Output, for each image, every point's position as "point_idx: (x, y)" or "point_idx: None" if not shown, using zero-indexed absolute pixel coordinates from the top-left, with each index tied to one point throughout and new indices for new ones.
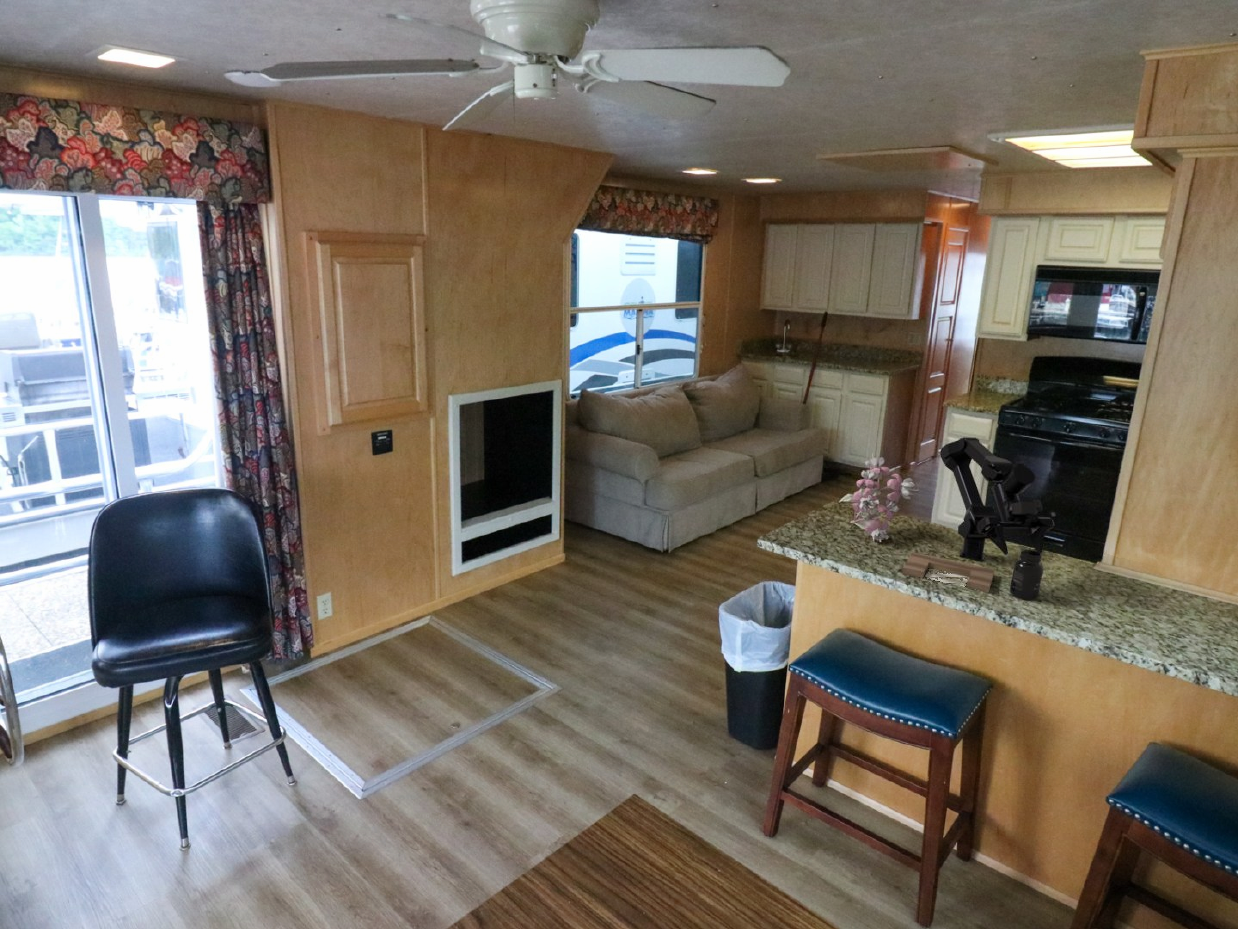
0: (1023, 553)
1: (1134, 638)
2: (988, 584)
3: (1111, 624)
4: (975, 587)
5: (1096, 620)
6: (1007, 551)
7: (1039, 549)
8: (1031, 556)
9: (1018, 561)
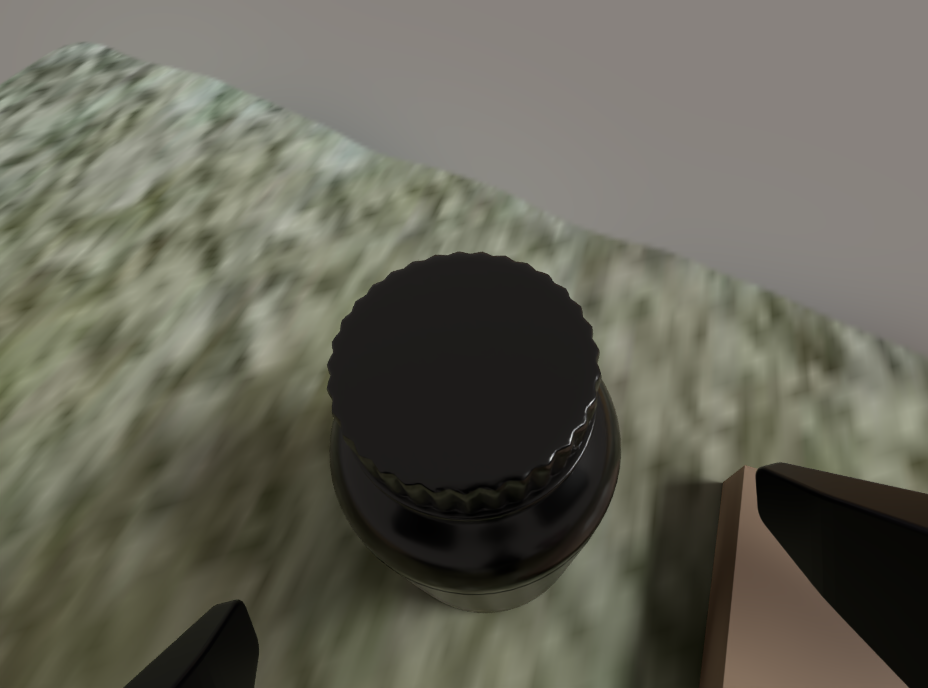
0: (582, 317)
1: (161, 172)
2: (756, 496)
3: (163, 260)
4: None
5: (209, 281)
6: (782, 473)
7: (213, 653)
8: (496, 261)
9: (596, 414)
